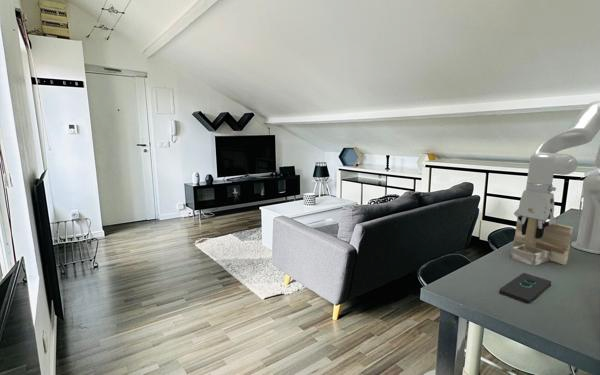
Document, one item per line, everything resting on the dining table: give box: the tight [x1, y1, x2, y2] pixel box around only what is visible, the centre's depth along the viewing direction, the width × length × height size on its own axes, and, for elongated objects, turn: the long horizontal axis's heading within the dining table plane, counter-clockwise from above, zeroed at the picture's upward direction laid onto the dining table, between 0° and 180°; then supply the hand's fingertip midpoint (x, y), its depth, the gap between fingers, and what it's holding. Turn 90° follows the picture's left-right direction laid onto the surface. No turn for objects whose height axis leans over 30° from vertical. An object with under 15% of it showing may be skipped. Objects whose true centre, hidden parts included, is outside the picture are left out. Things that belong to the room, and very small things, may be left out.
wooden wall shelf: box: [509, 217, 574, 267], centre depth 126 cm, size 13×18×14 cm
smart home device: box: [498, 272, 552, 304], centre depth 103 cm, size 8×2×20 cm
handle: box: [525, 208, 539, 248], centre depth 124 cm, size 5×6×15 cm
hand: (531, 235), depth 124 cm, fingers closed on handle, 4 cm apart
